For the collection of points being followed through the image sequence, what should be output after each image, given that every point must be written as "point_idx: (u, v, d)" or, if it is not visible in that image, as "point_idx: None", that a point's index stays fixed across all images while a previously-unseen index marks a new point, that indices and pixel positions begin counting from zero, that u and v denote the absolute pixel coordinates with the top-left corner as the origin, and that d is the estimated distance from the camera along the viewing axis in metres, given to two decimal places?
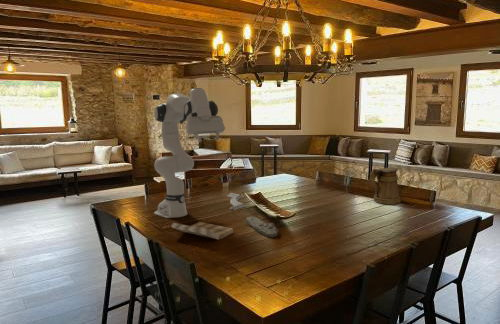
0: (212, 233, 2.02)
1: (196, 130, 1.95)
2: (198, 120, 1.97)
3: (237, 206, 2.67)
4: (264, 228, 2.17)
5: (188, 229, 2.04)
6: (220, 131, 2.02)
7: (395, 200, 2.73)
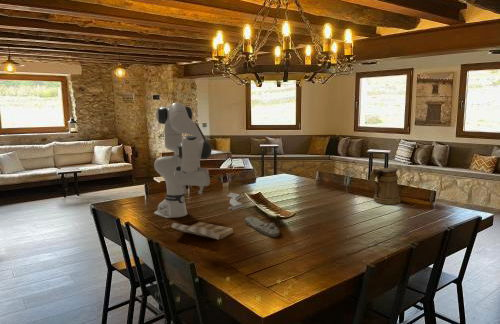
0: (212, 233, 2.02)
1: (180, 183, 2.02)
2: (183, 173, 2.00)
3: (236, 206, 2.67)
4: (265, 228, 2.17)
5: (188, 229, 2.04)
6: (204, 185, 1.98)
7: (395, 200, 2.73)
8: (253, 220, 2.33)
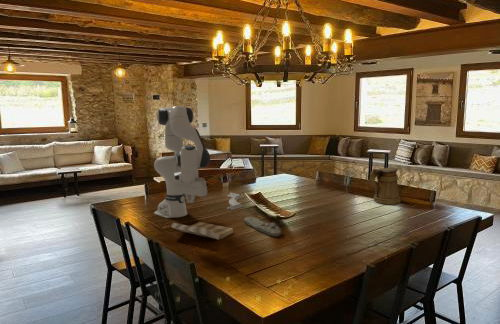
0: (212, 233, 2.02)
1: (179, 192, 2.04)
2: (181, 182, 2.02)
3: (234, 206, 2.67)
4: (267, 228, 2.17)
5: (188, 229, 2.04)
6: None
7: (395, 200, 2.73)
8: (253, 220, 2.33)
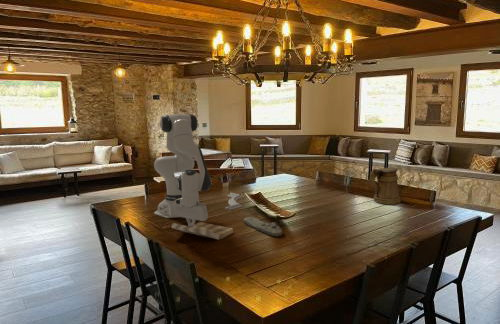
0: (212, 233, 2.02)
1: (180, 215, 2.06)
2: (182, 206, 2.04)
3: (233, 206, 2.67)
4: (267, 228, 2.17)
5: (188, 229, 2.04)
6: None
7: (395, 200, 2.73)
8: (252, 220, 2.32)
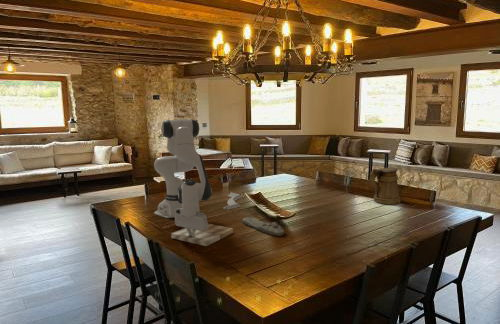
0: (211, 240, 2.02)
1: (180, 225, 2.07)
2: (182, 216, 2.04)
3: (231, 206, 2.67)
4: (269, 228, 2.17)
5: (187, 240, 2.04)
6: None
7: (395, 200, 2.73)
8: (252, 220, 2.32)
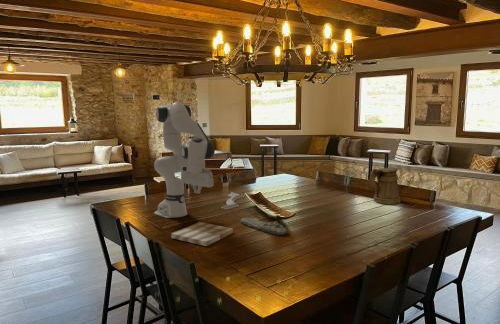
0: (211, 240, 2.02)
1: (186, 182, 2.11)
2: (188, 173, 2.08)
3: (229, 206, 2.68)
4: (271, 227, 2.18)
5: (187, 240, 2.04)
6: None
7: (395, 200, 2.73)
8: (251, 221, 2.31)
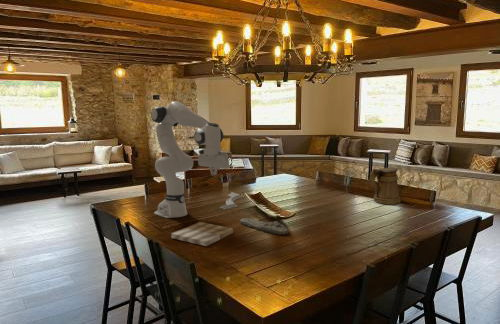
0: (211, 240, 2.02)
1: (203, 165, 2.26)
2: (205, 156, 2.24)
3: (227, 206, 2.68)
4: (272, 227, 2.19)
5: (187, 240, 2.04)
6: None
7: (395, 200, 2.73)
8: (251, 221, 2.31)
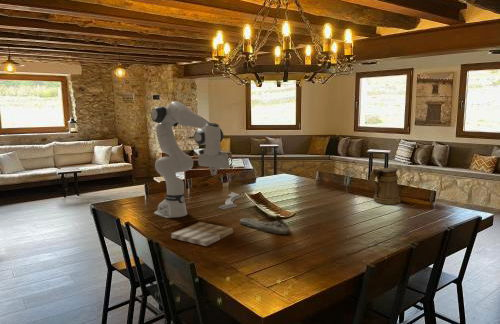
0: (211, 240, 2.02)
1: (203, 165, 2.26)
2: (205, 156, 2.24)
3: (226, 205, 2.68)
4: (273, 227, 2.19)
5: (187, 240, 2.04)
6: (224, 168, 2.21)
7: (395, 200, 2.73)
8: (251, 221, 2.31)
